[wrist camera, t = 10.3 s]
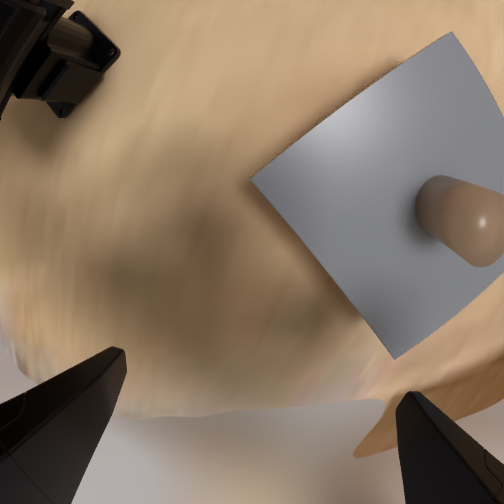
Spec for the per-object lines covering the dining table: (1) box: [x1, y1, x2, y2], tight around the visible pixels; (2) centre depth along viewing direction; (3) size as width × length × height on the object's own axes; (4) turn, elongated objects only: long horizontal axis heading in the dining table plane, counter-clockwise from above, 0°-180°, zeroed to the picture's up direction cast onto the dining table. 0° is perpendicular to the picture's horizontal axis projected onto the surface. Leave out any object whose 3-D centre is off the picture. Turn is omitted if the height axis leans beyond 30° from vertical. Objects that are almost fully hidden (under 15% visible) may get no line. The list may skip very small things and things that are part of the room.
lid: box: [250, 32, 504, 360], centre depth 11 cm, size 13×13×5 cm
